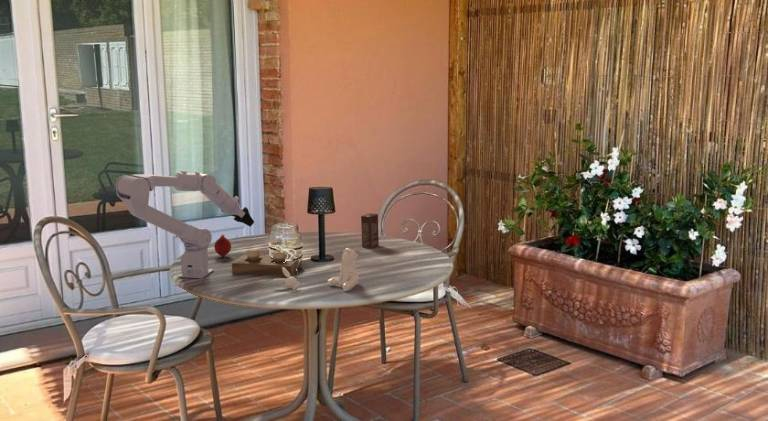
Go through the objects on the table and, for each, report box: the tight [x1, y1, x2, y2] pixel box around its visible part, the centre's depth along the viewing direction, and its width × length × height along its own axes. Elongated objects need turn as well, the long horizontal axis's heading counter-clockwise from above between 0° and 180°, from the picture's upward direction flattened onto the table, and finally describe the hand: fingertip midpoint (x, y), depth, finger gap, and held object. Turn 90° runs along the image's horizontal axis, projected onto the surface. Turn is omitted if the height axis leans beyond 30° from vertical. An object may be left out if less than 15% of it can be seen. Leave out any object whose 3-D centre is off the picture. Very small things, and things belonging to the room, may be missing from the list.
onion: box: [214, 234, 232, 258], centre depth 275 cm, size 6×6×8 cm
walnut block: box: [231, 254, 298, 277], centre depth 259 cm, size 11×20×4 cm, turn 79°
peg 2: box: [272, 250, 286, 263], centre depth 257 cm, size 4×4×3 cm
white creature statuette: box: [327, 247, 360, 292], centre depth 241 cm, size 10×9×12 cm
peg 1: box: [246, 248, 260, 262], centre depth 259 cm, size 4×4×3 cm
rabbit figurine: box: [271, 267, 300, 290], centre depth 240 cm, size 6×4×8 cm
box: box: [360, 213, 380, 249], centre depth 290 cm, size 6×4×12 cm
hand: (246, 220), depth 267 cm, fingers open, 7 cm apart
